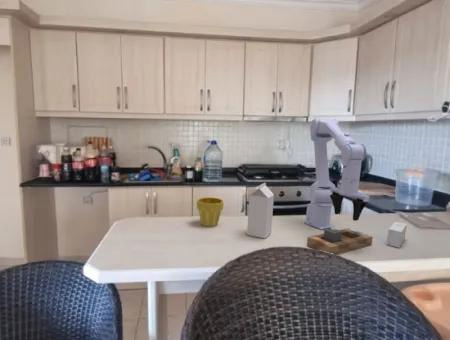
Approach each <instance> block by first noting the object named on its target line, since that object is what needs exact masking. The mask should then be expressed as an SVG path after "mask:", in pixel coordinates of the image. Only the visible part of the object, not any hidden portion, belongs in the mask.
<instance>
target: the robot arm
mask: <svg viewBox="0 0 450 340" xmlns="http://www.w3.org/2000/svg"><path fill="white" fill-rule="evenodd" d="M339 123H340V122H339V121H338V119H329V118H327V119H326V118H315V117H314V118H313V119H312V121H311V123H310V127H309V129H310V130H309V132H310V140H312V142H313V146H314V149H313V150H314V160H315V161H314V163H315V164H314V165H315V176H316V177H315V178H316V180H315V182H313V183H312V184H311V185H310V187H309V189H310V190H309V201H310V203H308V205H307V207H306V212H305V214H306V216H305V221H304V224H306V225H309V226H312V227H315V228H317V229H319V230H325V229H330V228H331V227H335V225H334V224H331V216H332V215H331V214H332V208H333V209H334V214H335V215H340V214H341V211H342V204H343V201H344V198H345V197H348V198H350V199H353V200H352V206H353V207H352V210H353V213H352V221H354V222H355V221H359V219H360V217H361V215H362V212H363V210H364V209H365V207H366V206H367V205H368V203H369V202H370V197H371V196H370V195H367V194H365V193H362V192H359V186H360V177H361V169H362V162H363V161H365V160H366V157H367V149H366V146H365V144H363V143H357V142H356V141H355V139H354V138H352V137H351V136H350V133H348V132H343V131H342V130H341V128H340V125H339ZM333 139H334V145H335V146H336V147H337V149H338V150H339V151H340V157H341V165H342V173H341V182H340V187H336V184H334V183H333V182H332V181H330V173H329V170H330V169H329V160H328V159H329V157H328V147H327V146H328V145H327V144H328V143H329V142H331V141H332V140H333Z"/></svg>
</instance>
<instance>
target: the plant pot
mask: <svg viewBox="0 0 450 340" xmlns="http://www.w3.org/2000/svg"><path fill="white" fill-rule="evenodd" d="M196 209H197V210H198V214H199V219H200V224H201V225H202V226H203V227H210V228H211V227H215V226H218V225H219V221H220V217H221V212H222V211H223V209H224V199H222V198H219V197H213V196H212V197H210V196H209V197H208V196H206V197H201V198H200V197H199V198H198V199H197V200H196Z"/></svg>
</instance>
